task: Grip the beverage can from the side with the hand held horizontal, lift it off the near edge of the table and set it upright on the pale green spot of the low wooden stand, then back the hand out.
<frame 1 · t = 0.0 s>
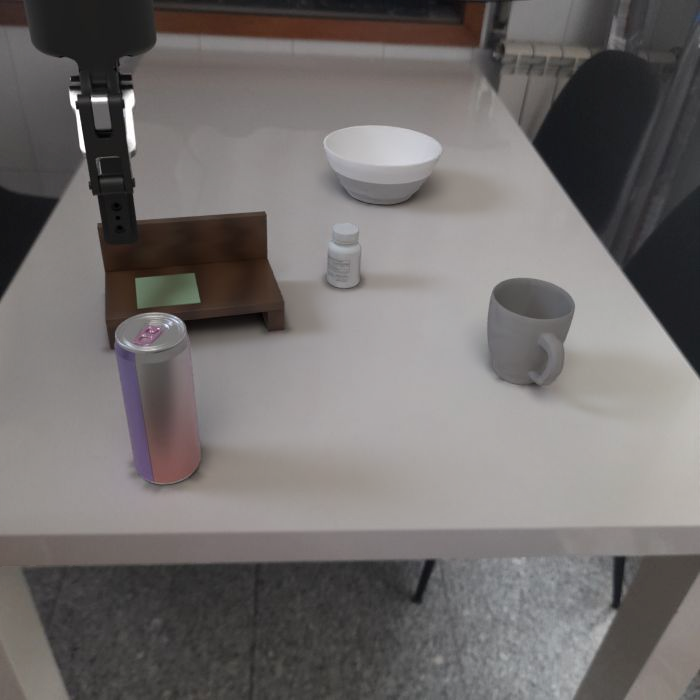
hand: (121, 215, 52), 25 cm above the table, tool pointing down, fingers open, 8 cm apart
bowl: (379, 193, 122), on the table
beverage can: (169, 466, 67), on the table
mug: (522, 380, 80), on the table
pill bottle: (343, 282, 96), on the table
wooden stand: (194, 312, 88), on the table
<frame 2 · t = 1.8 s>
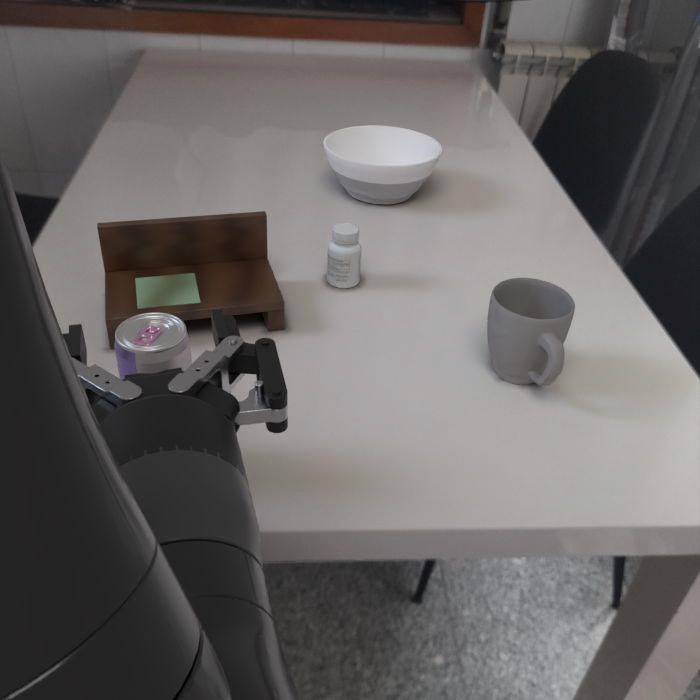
hand: (148, 328, 45), 22 cm above the table, tool horizontal, fingers open, 8 cm apart
nothing on the table moved.
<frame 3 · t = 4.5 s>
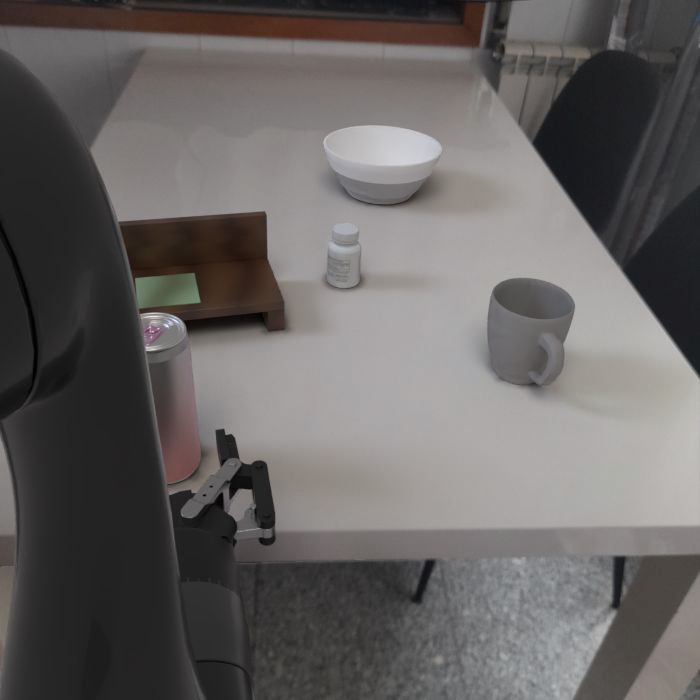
hand: (164, 445, 55), 9 cm above the table, tool horizontal, fingers open, 8 cm apart
nothing on the table moved.
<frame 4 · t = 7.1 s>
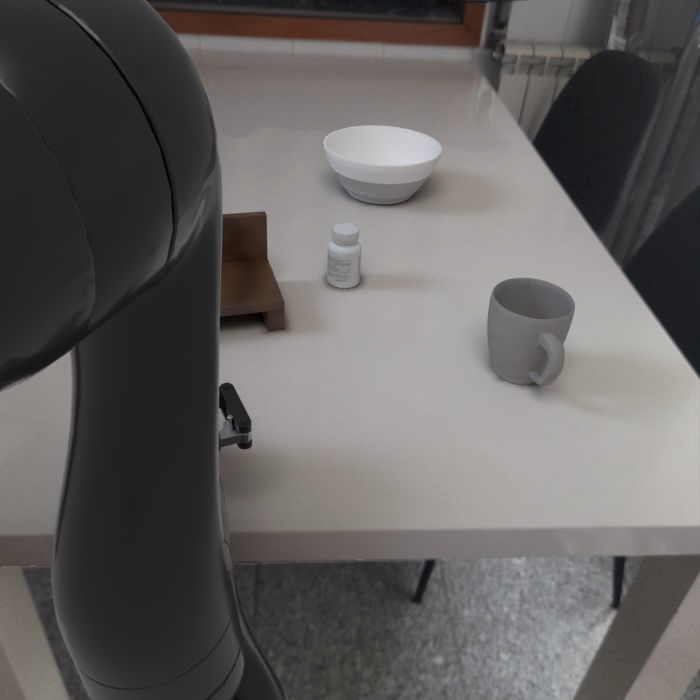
hand: (157, 371, 63), 9 cm above the table, tool horizontal, fingers closed on beverage can, 6 cm apart
beverage can: (169, 466, 67), on the table, touching gripper
everything else where it was.
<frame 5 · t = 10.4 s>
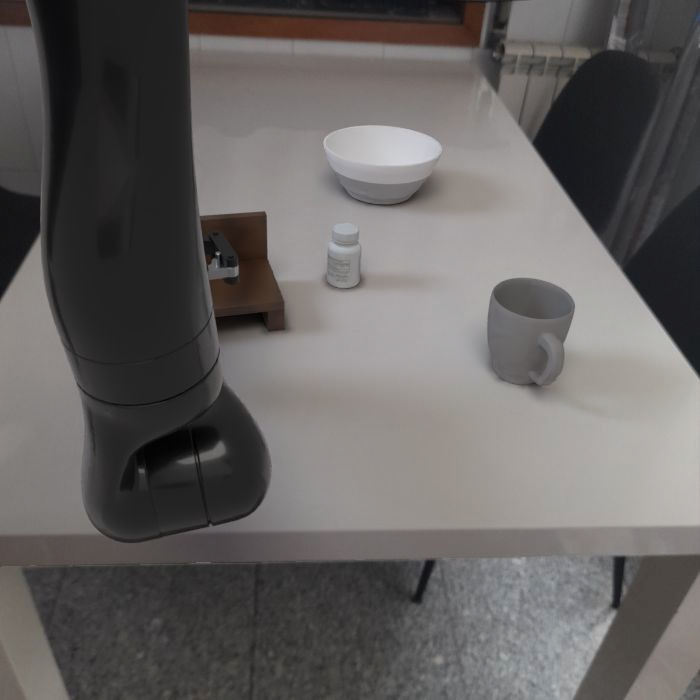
hand: (151, 226, 67), 18 cm above the table, tool horizontal, fingers closed on beverage can, 6 cm apart
beverage can: (162, 322, 71), point 9 cm above the table, touching gripper
everything else where it was.
when the fingers open (13 cm above the table, at t = 13.9 s): beverage can stays where it is, resting on wooden stand.
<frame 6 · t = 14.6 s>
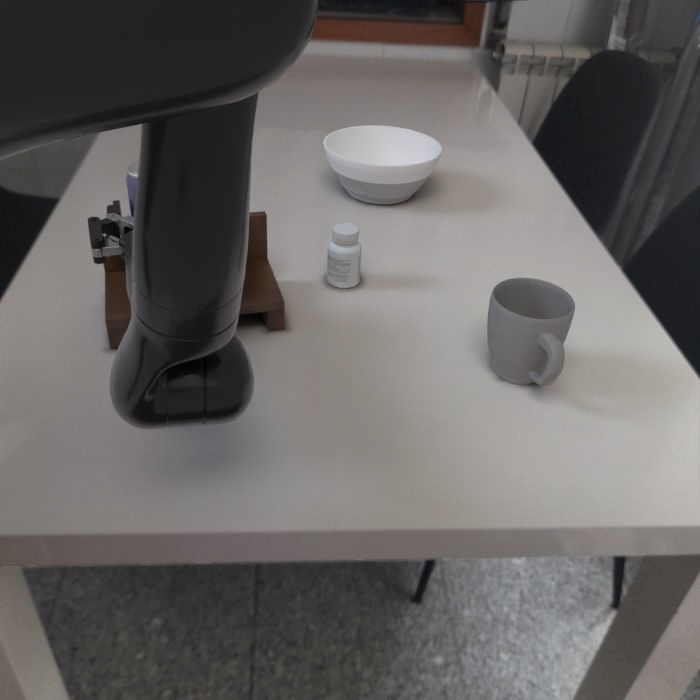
hand: (157, 205, 80), 14 cm above the table, tool horizontal, fingers open, 8 cm apart
beverage can: (168, 291, 84), point 4 cm above the table, touching wooden stand
everything else where it was.
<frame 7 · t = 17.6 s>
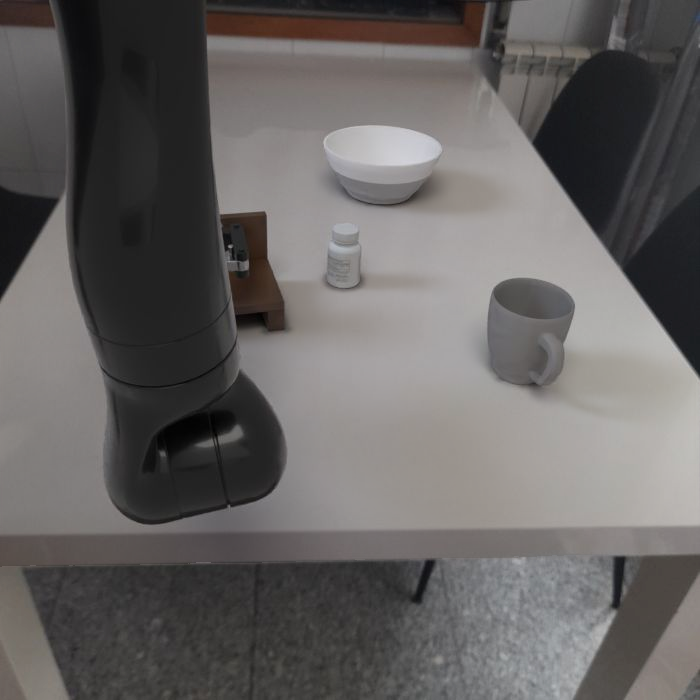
hand: (159, 219, 68), 18 cm above the table, tool horizontal, fingers open, 8 cm apart
nothing on the table moved.
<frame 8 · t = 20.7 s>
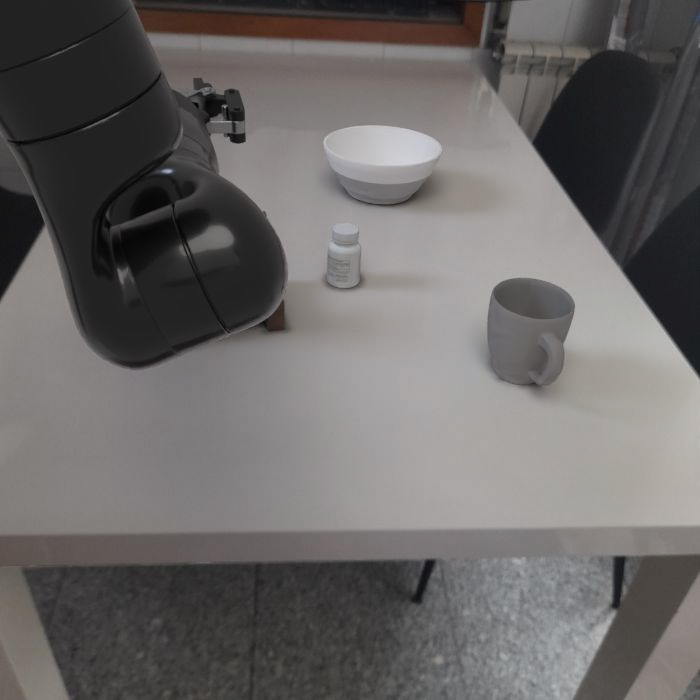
hand: (146, 90, 61), 30 cm above the table, tool horizontal, fingers open, 8 cm apart
nothing on the table moved.
at the end: beverage can inside the target area on the wooden stand (0.1 cm from its centre), point 3.9 cm above the wooden stand's base; beverage can tilted 0°; the gripper is holding nothing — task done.
